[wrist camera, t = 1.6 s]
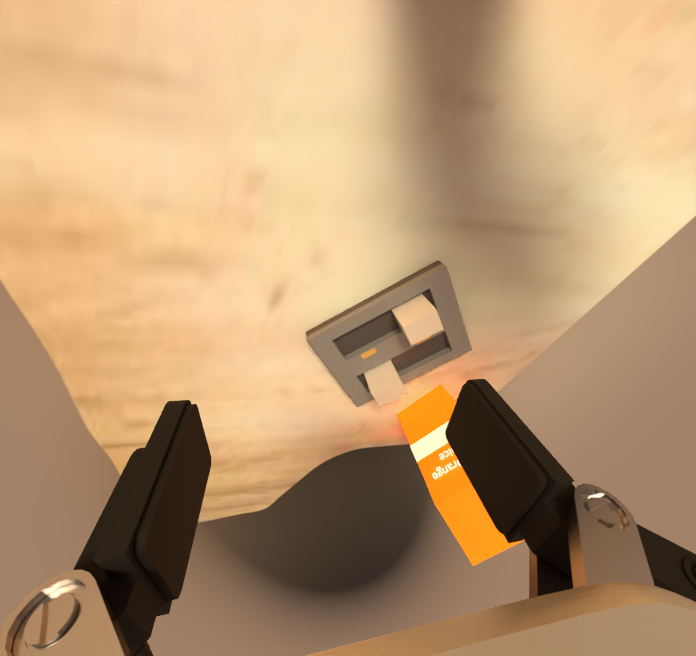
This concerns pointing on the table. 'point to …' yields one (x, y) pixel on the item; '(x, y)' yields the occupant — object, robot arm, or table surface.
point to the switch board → (390, 334)
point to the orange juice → (449, 476)
